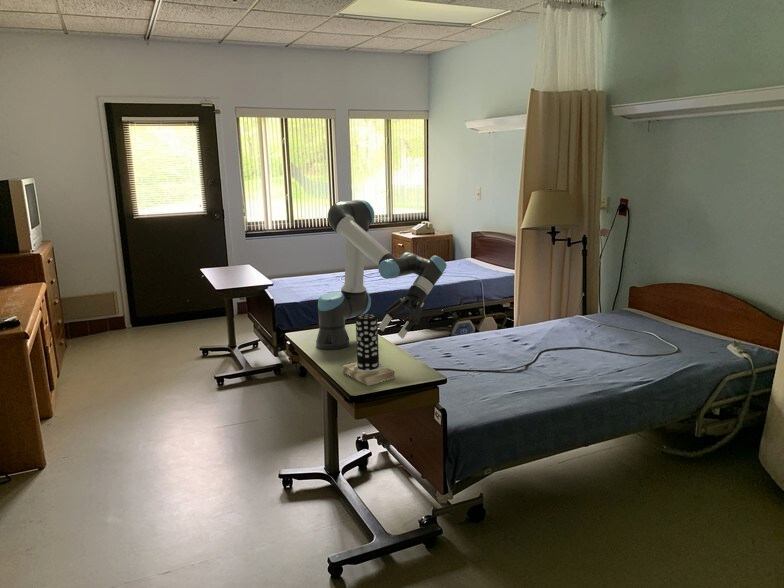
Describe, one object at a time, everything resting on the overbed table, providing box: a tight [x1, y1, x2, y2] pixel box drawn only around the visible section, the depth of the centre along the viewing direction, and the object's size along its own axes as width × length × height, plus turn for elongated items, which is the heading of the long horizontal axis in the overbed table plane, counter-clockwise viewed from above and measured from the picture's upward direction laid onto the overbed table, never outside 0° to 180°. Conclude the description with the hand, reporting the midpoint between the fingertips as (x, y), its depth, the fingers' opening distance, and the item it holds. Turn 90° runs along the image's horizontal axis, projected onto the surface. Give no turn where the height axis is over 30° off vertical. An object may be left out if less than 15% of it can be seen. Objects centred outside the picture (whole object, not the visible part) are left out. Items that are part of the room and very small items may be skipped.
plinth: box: [342, 361, 395, 386], centre depth 228 cm, size 18×12×4 cm, turn 35°
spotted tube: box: [355, 313, 380, 370], centre depth 225 cm, size 8×8×20 cm
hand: (390, 332), depth 231 cm, fingers open, 13 cm apart
